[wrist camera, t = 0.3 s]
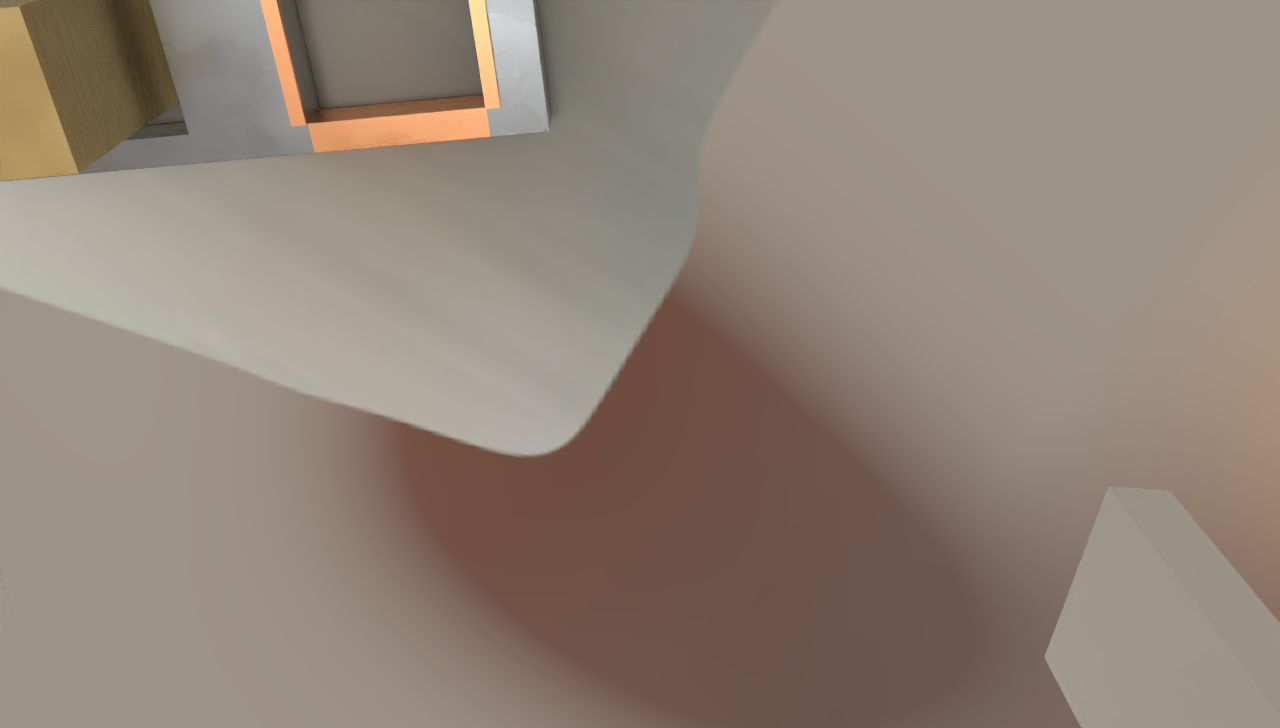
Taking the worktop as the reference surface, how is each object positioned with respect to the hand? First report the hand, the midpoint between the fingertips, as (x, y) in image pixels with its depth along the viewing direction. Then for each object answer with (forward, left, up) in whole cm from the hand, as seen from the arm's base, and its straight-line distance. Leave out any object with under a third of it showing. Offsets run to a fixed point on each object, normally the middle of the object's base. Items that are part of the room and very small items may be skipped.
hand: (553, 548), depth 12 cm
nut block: (-2, -16, -27) cm, 31 cm away
